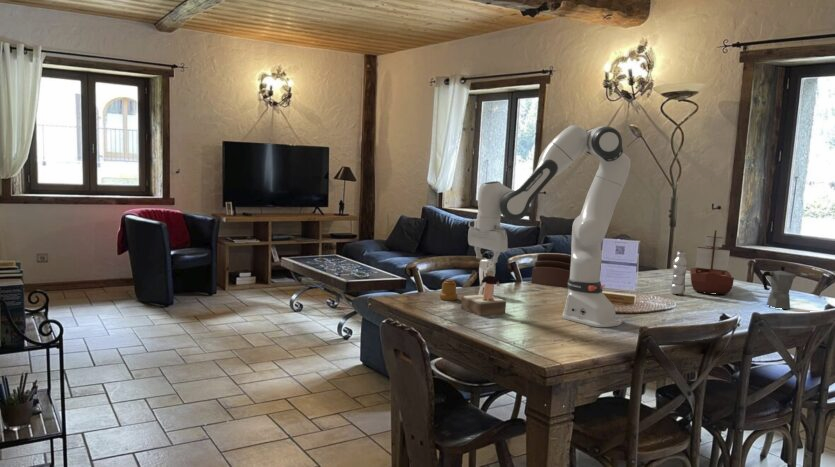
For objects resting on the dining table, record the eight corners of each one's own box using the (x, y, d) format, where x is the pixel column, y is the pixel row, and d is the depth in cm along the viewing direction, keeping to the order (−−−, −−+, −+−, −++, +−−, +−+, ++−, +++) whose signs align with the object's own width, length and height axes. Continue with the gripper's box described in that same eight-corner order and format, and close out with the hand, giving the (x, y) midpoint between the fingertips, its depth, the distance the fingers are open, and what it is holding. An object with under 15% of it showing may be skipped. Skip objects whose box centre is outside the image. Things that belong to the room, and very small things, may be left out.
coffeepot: (786, 305, 283) (791, 265, 281) (799, 310, 274) (804, 269, 272) (752, 304, 283) (756, 263, 281) (764, 309, 273) (769, 267, 271)
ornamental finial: (447, 301, 259) (435, 298, 265) (461, 300, 263) (449, 296, 269) (448, 282, 258) (436, 278, 264) (462, 280, 262) (450, 277, 268)
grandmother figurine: (482, 301, 240) (484, 267, 238) (477, 299, 243) (479, 266, 242) (500, 300, 243) (502, 267, 241) (495, 298, 246) (497, 265, 245)
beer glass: (493, 297, 271) (495, 262, 269) (476, 295, 272) (478, 260, 271) (494, 293, 278) (496, 259, 276) (478, 292, 279) (480, 258, 277)
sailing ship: (690, 294, 298) (696, 231, 295) (688, 280, 335) (694, 224, 332) (732, 299, 292) (739, 235, 288) (725, 284, 329) (732, 227, 325)
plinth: (505, 313, 244) (506, 300, 243) (479, 316, 238) (480, 302, 237) (485, 306, 254) (486, 293, 253) (461, 308, 248) (461, 296, 247)
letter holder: (535, 280, 315) (537, 251, 314) (576, 285, 308) (579, 256, 306) (531, 283, 306) (533, 254, 305) (573, 288, 299) (575, 258, 297)
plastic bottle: (685, 294, 297) (690, 251, 295) (683, 296, 291) (687, 253, 289) (671, 292, 301) (675, 250, 298) (668, 294, 295) (672, 251, 292)
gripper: (512, 227, 235) (510, 264, 236) (478, 221, 252) (477, 256, 254) (499, 227, 231) (497, 265, 233) (465, 221, 249) (464, 256, 250)
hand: (486, 260), depth 243 cm, fingers open, 8 cm apart
